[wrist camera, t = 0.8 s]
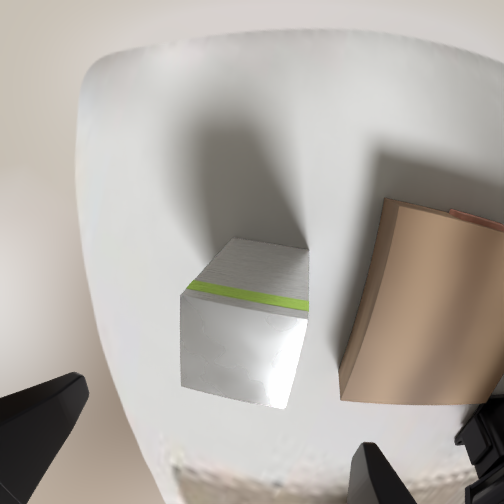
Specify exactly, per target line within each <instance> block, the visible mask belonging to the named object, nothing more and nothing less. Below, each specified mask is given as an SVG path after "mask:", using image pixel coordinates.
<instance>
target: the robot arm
mask: <svg viewBox="0 0 504 504" xmlns="http://www.w3.org/2000/svg"><path fill="white" fill-rule="evenodd" d="M88 397H89V390H88V387H87V383H86V380H85V377H84V376H83V375H81V374H79V373H77V372H71V373H68V374H66V375H63V376H60V377H58V378H55V379H52V380H50V381H47V382H44V383H41V384H39V385H36V386H33V387H30V388H27V389H24V390H22V391H19V392H16V393H13V394H10V395H7V396H4V397H2V398H0V504H27V502H28V501H29V499H30V497H31V496H32V494H33V492H34V490H35V489H36V487H37V486H38V484H39V482H40V481H41V479H42V477H43V476H44V474H45V472H46V471H47V469H48V467H49V466H50V464H51V463H52V461H53V459H54V458H55V456H56V454H57V453H58V451H59V450H60V448H61V447H62V445H63V444H64V442H65V440H66V439H67V437H68V436H69V434H70V433H71V431H72V429H73V427H74V426H75V424H76V421H77V420H78V418H79V416H80V414H81V411H82V409H83V407H84V406H85V404H86V402H87V400H88ZM454 442H455V445H465V447H466V450H467V453H468V456H469V459H470V461H471V464H472V465H474V466H475V469H476V472H477V475H478V478H479V480H477V481H476V482H474V483H473V484H472V485H469V486H467V487H466V488H465V504H504V395H492V396H490V397H489V398H488V400H487V402H486V403H481V405H480V406H479V408H478V409H477V411H476V412H475V413H474V415H473V416H472V418H471V419H470V421H469V422H468V423H467V425H466V426H465V428H464V429H463V430H462V432H461V433H460V434H459V436H458V437H457V438H456V439H455V441H454ZM347 504H417V503H416V501H415V500H414V498H413V497H412V495H411V494H410V492H409V491H408V490H407V488H406V487H405V485H404V484H403V482H402V481H401V479H400V478H399V477H398V475H397V474H396V472H395V471H394V469H393V468H392V466H391V465H390V463H389V462H388V461H387V459H386V458H385V456H384V455H383V453H382V452H381V450H380V449H379V447H378V446H377V445H376V444H375V443H373V442H363V443H361V445H360V446H359V448H358V449H357V451H356V453H355V454H354V456H353V458H352V462H351V471H350V480H349V488H348V496H347Z"/></svg>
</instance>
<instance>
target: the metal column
mask: <svg viewBox="0 0 504 504" xmlns="http://www.w3.org/2000/svg"><path fill="white" fill-rule="evenodd" d="M308 312H309V250H307V249H301V248H295V247H289V246H282V245H276V244H270V243H264V242H258V241H252V240H246V239H240V238H232V239H231V240H230V241H229V242H228V243H227V244H226V246H225V247H224V248H223V249H222V250H221V251H220V252H219V253H218V254H217V255H216V256H215V257H214V259H213V260H212V261H211V262H210V263H209V264H208V265H207V266H206V267H205V268H204V270H203V271H202V272H201V273H200V274H199V275H198V276H197V277H196V278H195V279H194V280H193V281H192V282H191V283H190V284H189V286H188V287H187V288H186V289H185V291H184V292H183V293H182V294H181V295H180V364H181V386H183V387H186V388H190V389H193V390H197V391H201V392H205V393H209V394H213V395H217V396H221V397H225V398H230V399H234V400H239V401H244V402H249V403H254V404H259V405H264V406H270V407H275V408H281V409H285V407H286V403H287V400H288V396H289V393H290V389H291V385H292V382H293V378H294V374H295V370H296V367H297V363H298V359H299V355H300V351H301V347H302V343H303V339H304V335H305V331H306V326H307V322H308Z"/></svg>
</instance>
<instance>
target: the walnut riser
mask: <svg viewBox="0 0 504 504" xmlns="http://www.w3.org/2000/svg"><path fill="white" fill-rule="evenodd" d="M338 373H339V386H340V400H342V401H352V402H364V403H378V404H398V405H461V404H480V403H486V402H487V400H488V398H489V397H490V395H491V394H492V392H493V391H494V389H495V387H496V386H497V384H498V382H499V381H500V379H501V377H502V375H503V374H504V225H503V224H501V223H498V222H495V221H492V220H488V219H485V218H482V217H478V216H475V215H471V214H468V213H464V212H460V211H457V210H453V209H450V212H449V213H448V212H444V211H440V210H436V209H432V208H428V207H424V206H419V205H415V204H411V203H406V202H402V201H397V200H393V199H388V198H384V203H383V208H382V214H381V219H380V224H379V228H378V233H377V238H376V242H375V247H374V251H373V255H372V259H371V264H370V268H369V272H368V276H367V279H366V283H365V287H364V291H363V294H362V298H361V302H360V305H359V309H358V312H357V315H356V319H355V322H354V325H353V329H352V332H351V335H350V338H349V341H348V344H347V347H346V350H345V353H344V356H343V359H342V362H341V365H340V368H339V371H338Z"/></svg>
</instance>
